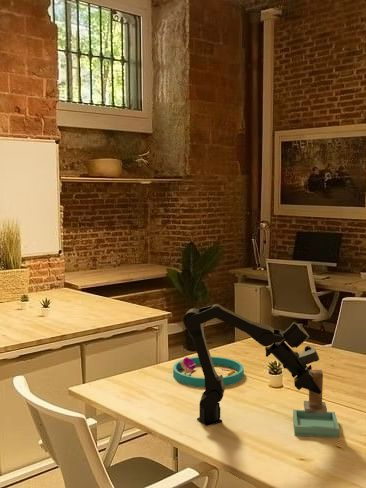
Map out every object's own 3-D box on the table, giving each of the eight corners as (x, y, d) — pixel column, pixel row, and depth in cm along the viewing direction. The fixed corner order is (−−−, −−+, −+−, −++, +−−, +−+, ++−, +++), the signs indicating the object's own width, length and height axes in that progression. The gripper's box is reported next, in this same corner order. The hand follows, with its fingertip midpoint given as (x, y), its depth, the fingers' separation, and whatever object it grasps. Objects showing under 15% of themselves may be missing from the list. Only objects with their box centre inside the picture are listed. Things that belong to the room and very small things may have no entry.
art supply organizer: (191, 361, 263) (191, 348, 262) (253, 370, 250) (253, 357, 249) (160, 381, 236) (160, 367, 236) (228, 392, 223) (228, 378, 223)
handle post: (304, 413, 187) (305, 374, 185) (303, 404, 193) (304, 367, 192) (326, 414, 185) (328, 375, 184) (325, 406, 192) (326, 368, 191)
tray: (294, 435, 184) (294, 426, 184) (293, 417, 198) (293, 409, 198) (339, 438, 182) (339, 429, 182) (334, 420, 196) (334, 411, 196)
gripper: (306, 348, 178) (341, 384, 178) (303, 333, 197) (335, 366, 196) (280, 371, 180) (315, 407, 180) (279, 354, 199) (311, 386, 198)
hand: (319, 390), depth 189 cm, fingers closed on handle post, 4 cm apart
